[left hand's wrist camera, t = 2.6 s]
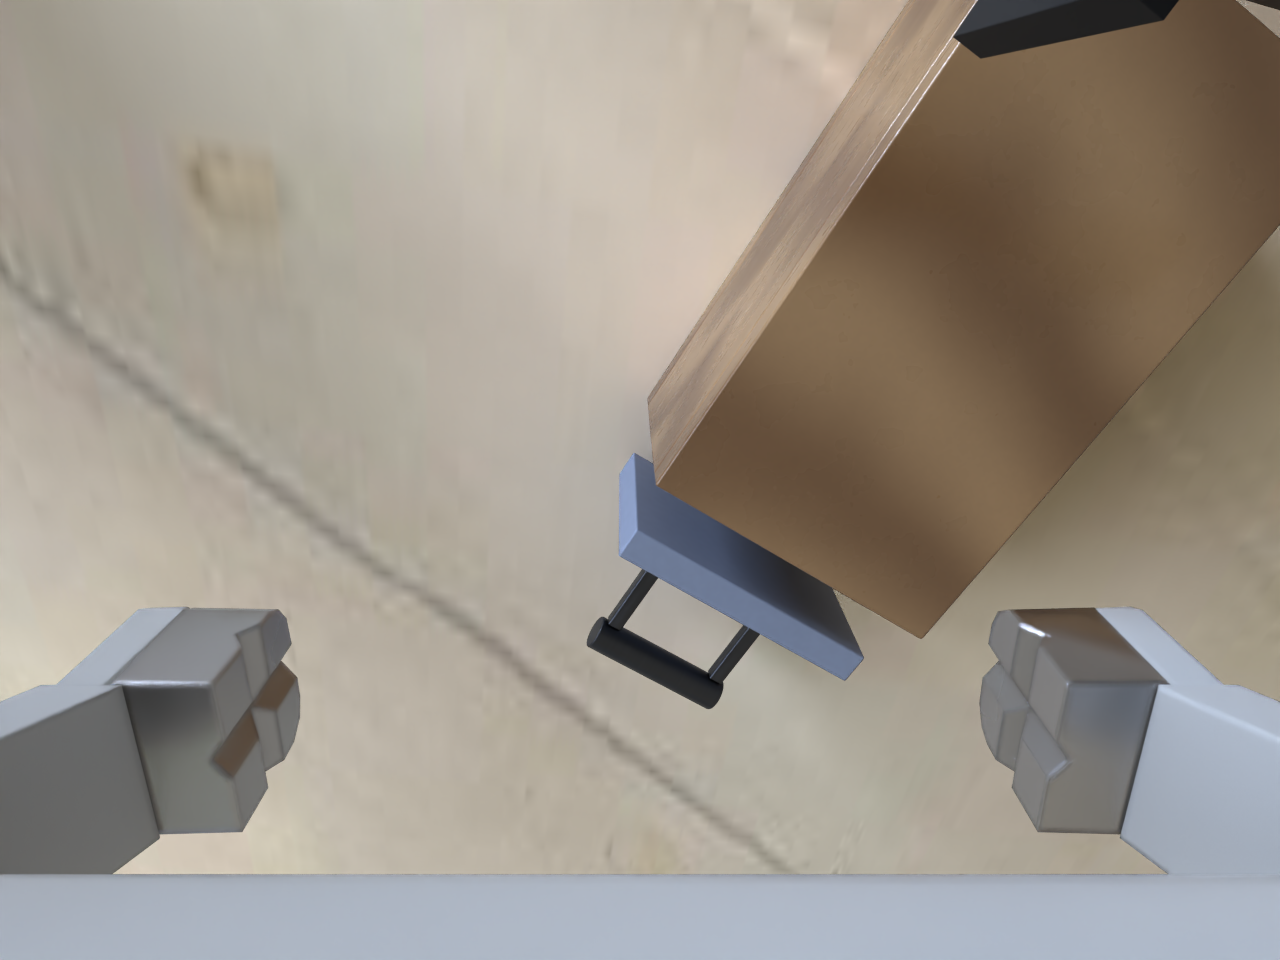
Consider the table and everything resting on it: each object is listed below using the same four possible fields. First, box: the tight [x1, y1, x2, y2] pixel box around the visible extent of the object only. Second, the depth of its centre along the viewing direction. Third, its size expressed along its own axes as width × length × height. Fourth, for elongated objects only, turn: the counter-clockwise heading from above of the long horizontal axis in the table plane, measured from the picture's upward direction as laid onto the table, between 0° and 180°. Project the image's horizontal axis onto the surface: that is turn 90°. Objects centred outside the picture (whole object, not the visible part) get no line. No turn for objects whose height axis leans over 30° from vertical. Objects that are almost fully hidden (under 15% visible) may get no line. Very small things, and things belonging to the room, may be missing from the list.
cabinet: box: [648, 0, 1280, 639], centre depth 31 cm, size 20×11×10 cm, turn 148°
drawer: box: [587, 453, 864, 709], centre depth 33 cm, size 24×10×8 cm, turn 148°
